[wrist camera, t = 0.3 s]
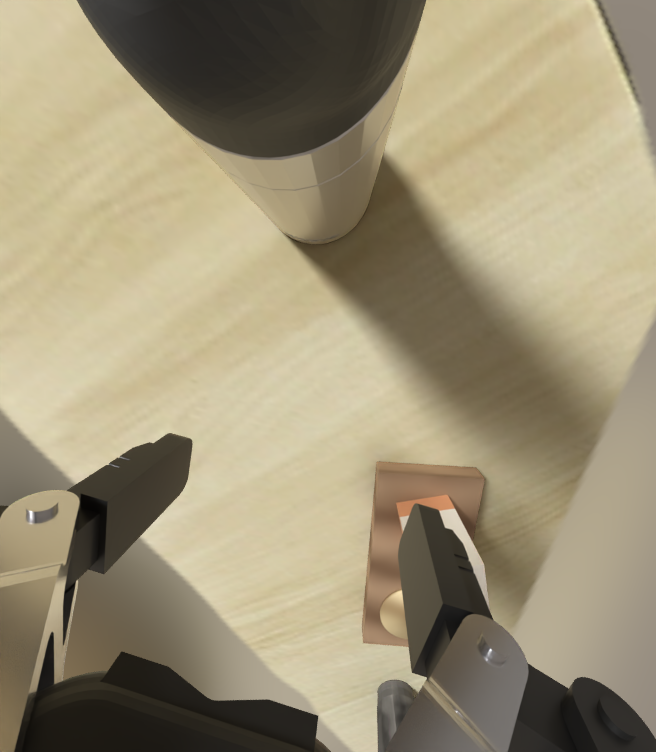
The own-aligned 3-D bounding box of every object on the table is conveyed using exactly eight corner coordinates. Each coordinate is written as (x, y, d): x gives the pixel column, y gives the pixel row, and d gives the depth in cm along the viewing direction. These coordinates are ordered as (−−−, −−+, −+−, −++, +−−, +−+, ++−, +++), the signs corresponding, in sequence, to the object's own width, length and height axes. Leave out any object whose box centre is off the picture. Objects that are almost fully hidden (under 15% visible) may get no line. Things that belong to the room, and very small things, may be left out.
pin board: (376, 461, 32) (385, 505, 25) (476, 467, 31) (511, 513, 25) (362, 624, 37) (366, 695, 31) (445, 631, 37) (468, 704, 30)
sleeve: (404, 544, 32) (424, 625, 24) (396, 502, 30) (414, 574, 23) (453, 536, 31) (490, 617, 23) (447, 494, 30) (484, 564, 22)
